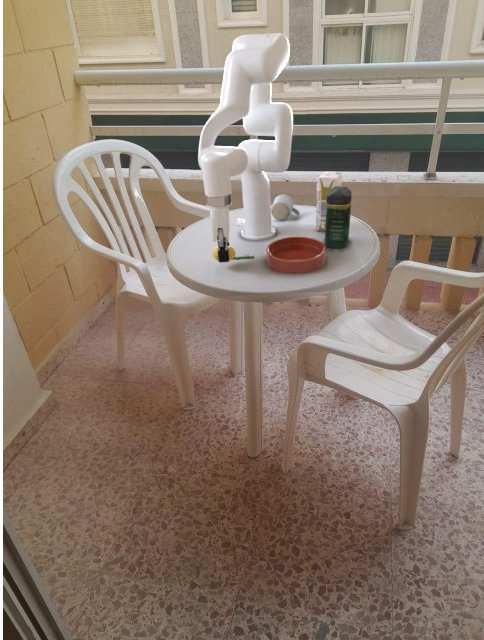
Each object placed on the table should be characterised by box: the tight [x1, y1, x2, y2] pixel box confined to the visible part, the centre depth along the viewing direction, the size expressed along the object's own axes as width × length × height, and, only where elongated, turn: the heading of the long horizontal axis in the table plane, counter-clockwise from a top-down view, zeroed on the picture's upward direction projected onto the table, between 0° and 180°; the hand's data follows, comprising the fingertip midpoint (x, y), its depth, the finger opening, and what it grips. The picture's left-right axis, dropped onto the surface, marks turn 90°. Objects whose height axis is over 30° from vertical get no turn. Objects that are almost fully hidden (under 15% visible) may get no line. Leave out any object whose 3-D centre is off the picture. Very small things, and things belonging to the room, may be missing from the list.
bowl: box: [265, 235, 327, 275], centre depth 142 cm, size 18×18×4 cm
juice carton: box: [315, 171, 343, 232], centre depth 158 cm, size 8×9×19 cm
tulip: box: [212, 245, 255, 262], centre depth 139 cm, size 13×5×4 cm, turn 90°
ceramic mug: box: [271, 194, 301, 221], centre depth 172 cm, size 11×8×8 cm
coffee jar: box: [323, 186, 353, 250], centre depth 147 cm, size 10×8×19 cm
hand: (224, 257), depth 140 cm, fingers closed on tulip, 4 cm apart
